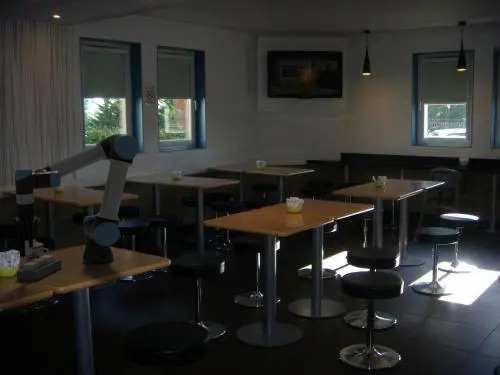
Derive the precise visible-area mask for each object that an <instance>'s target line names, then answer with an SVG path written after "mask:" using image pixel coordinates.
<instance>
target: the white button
mask: <svg viewBox="0 0 500 375" xmlns="http://www.w3.org/2000/svg"><path fill="white" fill-rule="evenodd" d="M40 259H46V260H47V263H51V262H54V260H55V254H54V255H53V254H49V255H47V254H44V256H42V257H40Z"/></svg>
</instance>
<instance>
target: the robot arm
mask: <svg viewBox="0 0 500 375" xmlns="http://www.w3.org/2000/svg"><path fill="white" fill-rule="evenodd" d="M139 149H140V146H139V142H138V140H137V139H136V138H135V137H134V136H133V135H131V134H127V133H115V134H112V135H110V136H108V137H106V138H104V139H102V140H100V141H98V142H96V143H95V145H93V146H91V147H89V148H87V149H85V150H82V151H79V152H78V153H75V154H73V155H70V156H68V157H66V158H64V159H63V158H62V160H61V159H60V160H58V161H56V162H54V163H52V164H50V165H47V166H45V167H42V168H38V169H35V170H34V171H33V169H32V168H18V169H15V171H14V183H15V197H16V203H17V204H16V212H17V214H16V217H14V218H12V222H13V223H14V225H15V228H16V233H17V236H18V238H19V240H22V241H23V248H24V247H26V255H30V254H32V247H33V240H36V239H38V233H39V226H40V225H39V224H40V222H41V220H42V218H41V217H38V216H37V215H36V212H35V210H36V209H35V208H36V207H35V203H34V202H35V192H34V190H38V189H55V188H59V187H60V186H61V182H62V181H61V180H62V178H64V177H65V176H68V175H71V174H72V173H75V172H77V171H80V170H83V168H87V167H88V166H90V165H93V164H95V163H98V162H100V161H102V160H103V161H107V160H108V161H109V163H110V164H109V169H108V172H107V176H106V177H107V178H106V182H105V186H104V191H103V195H102V201H101V204H100V208H99V212H98V213H96V214H94V215H87V216H84V218H83V233H84V234H83V235H84V245H85V247H84V251H83V255H82V263H84V264H87V265H89V264H90V265H98V264H106V263H109V262H112V261H114V258H115V256H114V252H113V250H112V247H111V246H112V245H114V244H115V243H116V242H118V240H119V238H120V228H119V225H120V218H119V216H118V214H119V209H120V205H121V202H122V197H123V193H124V192H123V191H124V189H125V183H126V180H127V179H126V178H127V175H128V170H129V167H131V166H132V165H133V162H134V159H135V157H136V156H137V155H138V153H139Z"/></svg>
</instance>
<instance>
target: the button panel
mask: <svg viewBox="0 0 500 375" xmlns="http://www.w3.org/2000/svg"><path fill="white" fill-rule="evenodd" d="M60 269H62V259H54V262H51V263H47V265H45V266H43V267H39V269H37V270H35V271H24V269H23V268H21V269H18V270H17V271H16V279H17V281H38V280H41V279H42V278H44V277H47V276H49V275H50V274H53V273H54V272H56V271H58V270H60Z"/></svg>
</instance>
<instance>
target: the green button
mask: <svg viewBox="0 0 500 375" xmlns="http://www.w3.org/2000/svg"><path fill="white" fill-rule="evenodd" d="M22 269H24V271H35V270H37V269H39V263H38V262H29V263H26V262H25V263H24V264H23V265H22Z"/></svg>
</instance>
